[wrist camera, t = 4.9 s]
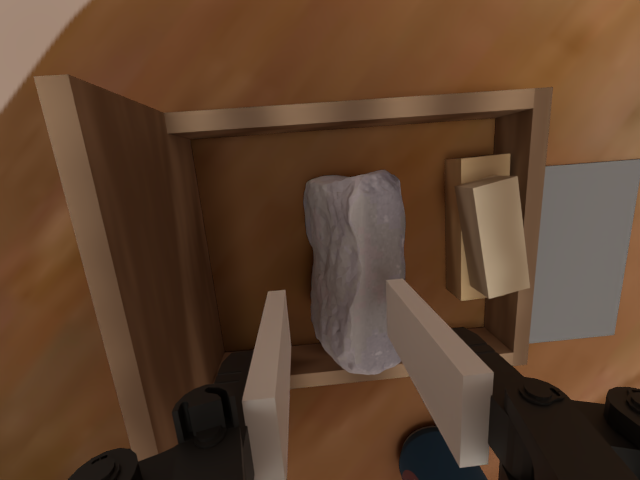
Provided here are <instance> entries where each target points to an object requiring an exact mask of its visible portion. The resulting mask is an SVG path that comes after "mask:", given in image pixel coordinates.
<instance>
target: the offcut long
mask: <svg viewBox="0 0 640 480" xmlns="http://www.w3.org/2000/svg"><path fill="white" fill-rule="evenodd" d="M494 175H498V176H510V154H495V155H484V156H475V157H465V158H456V159H447V160H445V241H446V289H447V290H449V291H450V292H451V293H452V294H453V295H455V296H456V297H457V298H458V299H459V300H461V301H465V300H473V299H481V298H487V297H486V296H484V295H483V294H481V293H480V292H478V291H477V290H476V289H474V288H473V287H471V286H470V281H469V275H468V268H467V262H466V256H465V250H464V243H463V237H462V231H461V225H460V218H459V212H458V206H457V200H456V193H455V187H454V186H457V185H461V184H464V183H468V182H472V181H475V180H479V179H483V178H487V177H490V176H494ZM501 296H505V295H501Z"/></svg>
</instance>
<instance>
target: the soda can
mask: <svg viewBox="0 0 640 480" xmlns="http://www.w3.org/2000/svg"><path fill="white" fill-rule="evenodd" d="M399 469H400V473H401V476H402V479H403V480H487V478H486V476H485V475H484V473H483V471H482V470H481V468H480V466H479V465H478V466H471V467H463V468H460V467H459V466H458V464H457V462H456V460H455V458H454V456H453V455H452V453H451V451H450V449H449V447H448V445H447V444H446V442H445V440H444V438H443V436H442V434H441V433H440V431H439V429H438V427H437V426H427V427H423V428H420V429H418V430H416V431H414V432H413V433H412V434H410V435H409V436H408V437H407V439H406V440H405V442H404V444H403V447H402V451H401V454H400V459H399Z"/></svg>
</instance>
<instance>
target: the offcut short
mask: <svg viewBox="0 0 640 480" xmlns="http://www.w3.org/2000/svg"><path fill="white" fill-rule="evenodd" d="M454 187H455V193H456V200H457V206H458V212H459V218H460V225H461V231H462V237H463V243H464V250H465V256H466V262H467V268H468V275H469V281H470V286H471V287H473V288H474V289H476V290H477V291H478V292H480V293H481V294H483V295H484V296H486V297H487V298H489V299H490V298H494V297H498V296H501V295H505V294H509V293H513V292H516V291H520V290H524V289H527V288H530V282H529V273H528V264H527V255H526V246H525V237H524V228H523V219H522V210H521V201H520V192H519V184H518V176H498V175H494V176H490V177H487V178H483V179H479V180H475V181H472V182H468V183H464V184H461V185H457V186H454Z"/></svg>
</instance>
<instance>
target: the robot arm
mask: <svg viewBox="0 0 640 480" xmlns="http://www.w3.org/2000/svg"><path fill="white" fill-rule="evenodd" d="M386 300H387V336H388V337H389V339H390V341H391V343H392V345H393V347H394V348H395V350H396V352H397V354H398V356H399V358H400V359H401V361H402V363H403V365H404V367H405V369H406V370H407V372H408V374H409V376H410V378H411V380H412V381H413V383H414V385H415V387H416V389H417V391H418V392H419V394H420V396H421V398H422V400H423V402H424V403H425V405H426V407H427V409H428V411H429V412H430V414H431V416H432V418H433V420H434V422H435V423H436V425H437V427H438V429H439V431H440V433H441V434H442V436H443V438H444V440H445V442H446V444H447V445H448V447H449V449H450V451H451V453H452V455H453V456H454V458H455V460H456V462H457V464H458V466H459V467H460V468H463V467H471V466H478V465H486V464H488V457H489V446H490V447H491V448H492V450H493V451H494V453H495V454H496V456H497V457H498V458H499V460H500V465H499V478H498V480H640V389H636V388H631V387H615V388H612V389H610V390H609V391H608V393H607V396H606V402H605V404H599V403H591V402H582V401H574V400H571V399H570V398H569V397H568V396H567V395H566V394H565V393H563V392H562V391H561V390H560V389H558V388H557V387H555V386H553V385H551V384H549V383H547V382H544V381H541V380H538V379H535V378H528V377H524V376H522V375H521V374H520V373H519V372H518V371H517V370H516V369H515V368H514V367H513V366H512V365H510V364H509V363H508V362H507V361H506V360H505V359H504V358H503V357H502V356H501V355H499V354H498V353H497V352H495V350H494V349H493V348H492V347H491V346H490V345H487V343H486V342H485V341H484V340H483V339H482V338H481V337H480V336H479V335H478V334H476V333H474V332H472V331H470V330H468V329H466V328H464V327H459V328H450V327H449V326H448V325H447V324H446V323H445V322H444V321H443V320H442V319H441V318H440V317H439V315H438V314H437V313H436V312H435V311H434V310H433V309H432V308H431V307H430V306H429V305H428V304H427V303H426V302H425V301H424V300H423V299H422V298H421V297H420V296H419V295H418V294H417V293H416V292H415V291H414V290H413V289H412V288H411V287H410V286H409V285H408V284H407V283H406V281H405V280H404V279H393V280H386ZM290 368H291V338H290V329H289V319H288V310H287V300H286V291H285V290H278V291H268V294H267V298H266V302H265V306H264V310H263V315H262V319H261V323H260V327H259V331H258V335H257V340H256V344H255V348H254V350H252V351H242V352H233V353H231V354H230V355H229V356H228V357H227V358H226V359H225V360H224V361H223V362H222V363H221V366H220V369H219V371H218V376H216V379H215V381H214V384H207V385H203V386H201V387H198V388H195V389H193V390H192V391H190V392H188V393H187V394H185V395H184V396H183V397H182V398H181V399H180V400H179V401H178V402H177V403H176V404H175V406H174V408H173V410H172V417H173V421H174V426H175V431H176V435H177V440H178V445H176V446H174V447H173V448H171V449H169V450H166V451H164V452H162V453H159V454H157V455H154V456H151V457H149V458H146V459H144V460H141V461H138V458H137V454H136V453H135V452H133V451H132V450H131V449H124V448H118V449H114V450H110V451H106V452H104V453H102V454H100V455H98V456H96V457H94V458H92V459H91V460H89V461H88V462H87V463H85V464H84V465H82V466H81V467H80V468H78V469H77V470H76V471H75V472H74V474H73V475H72V476H71V477H70V478H69V479H68V480H287V458H288V428H289V398H290Z"/></svg>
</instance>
